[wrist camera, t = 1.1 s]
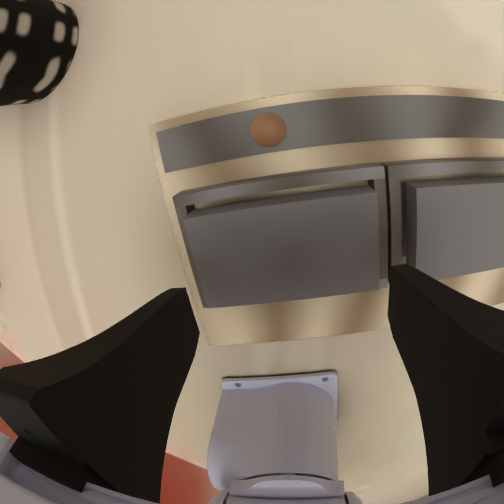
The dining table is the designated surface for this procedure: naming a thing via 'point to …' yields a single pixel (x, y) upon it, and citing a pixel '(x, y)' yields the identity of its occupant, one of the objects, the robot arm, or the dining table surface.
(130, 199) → the dining table surface
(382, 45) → the dining table surface
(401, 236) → the switch unit
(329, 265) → the key
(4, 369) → the robot arm
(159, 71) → the dining table surface
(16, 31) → the spotted tube
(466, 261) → the key middle
